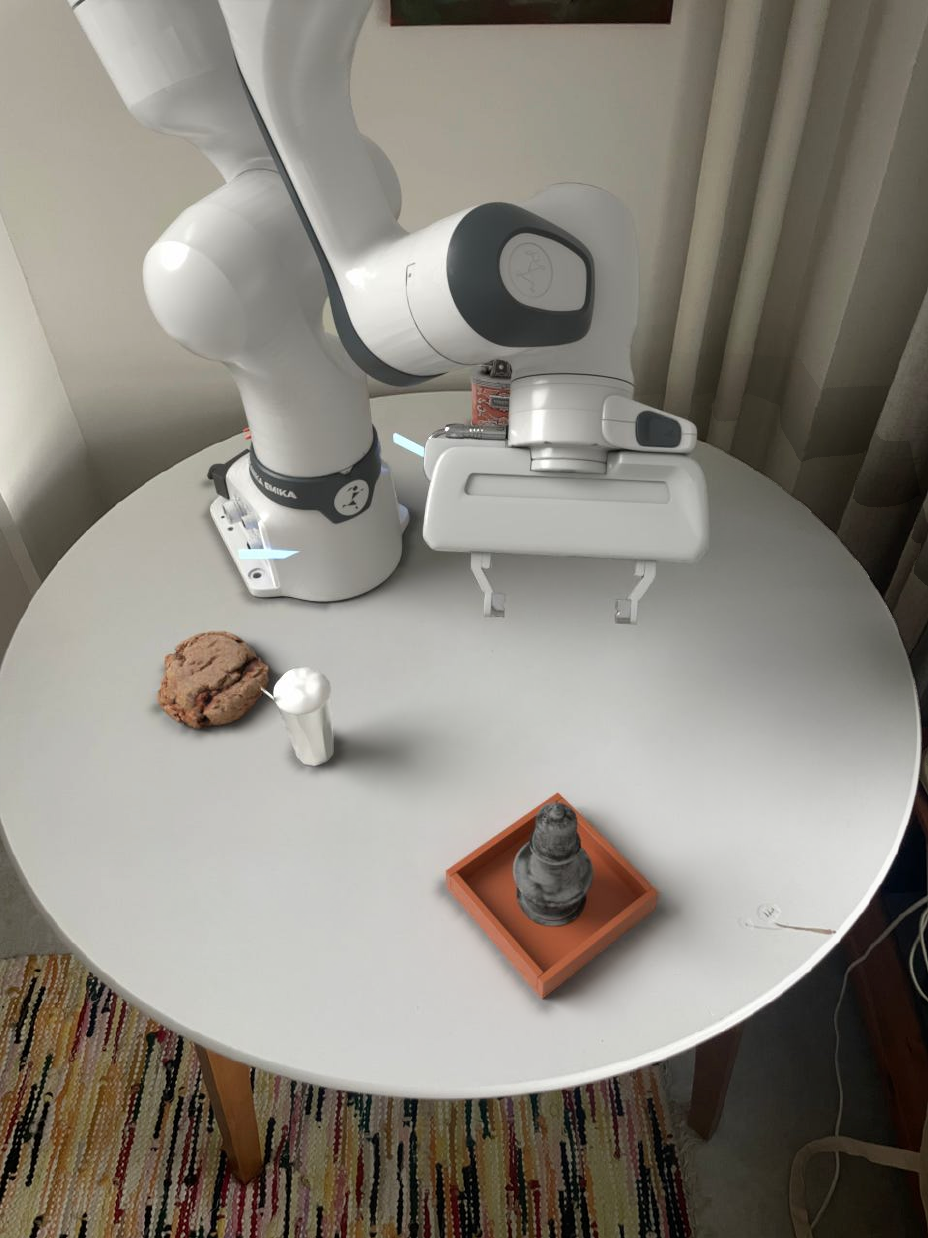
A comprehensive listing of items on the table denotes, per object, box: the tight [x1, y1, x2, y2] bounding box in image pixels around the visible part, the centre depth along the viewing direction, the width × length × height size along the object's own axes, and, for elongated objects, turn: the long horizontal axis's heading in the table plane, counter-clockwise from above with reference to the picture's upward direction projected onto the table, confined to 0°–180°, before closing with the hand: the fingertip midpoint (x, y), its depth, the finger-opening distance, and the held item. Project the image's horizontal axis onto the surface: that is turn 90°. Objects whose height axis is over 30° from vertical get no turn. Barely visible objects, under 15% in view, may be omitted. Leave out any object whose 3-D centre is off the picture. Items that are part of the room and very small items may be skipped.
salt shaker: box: [513, 802, 593, 927], centre depth 73 cm, size 6×6×12 cm
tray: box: [445, 792, 660, 1000], centre depth 77 cm, size 11×11×2 cm
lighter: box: [469, 359, 512, 426], centre depth 115 cm, size 8×3×10 cm, turn 80°
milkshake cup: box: [260, 667, 335, 767], centre depth 84 cm, size 4×5×10 cm
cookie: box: [157, 630, 270, 730], centre depth 92 cm, size 10×11×3 cm
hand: (559, 621), depth 74 cm, fingers open, 8 cm apart
